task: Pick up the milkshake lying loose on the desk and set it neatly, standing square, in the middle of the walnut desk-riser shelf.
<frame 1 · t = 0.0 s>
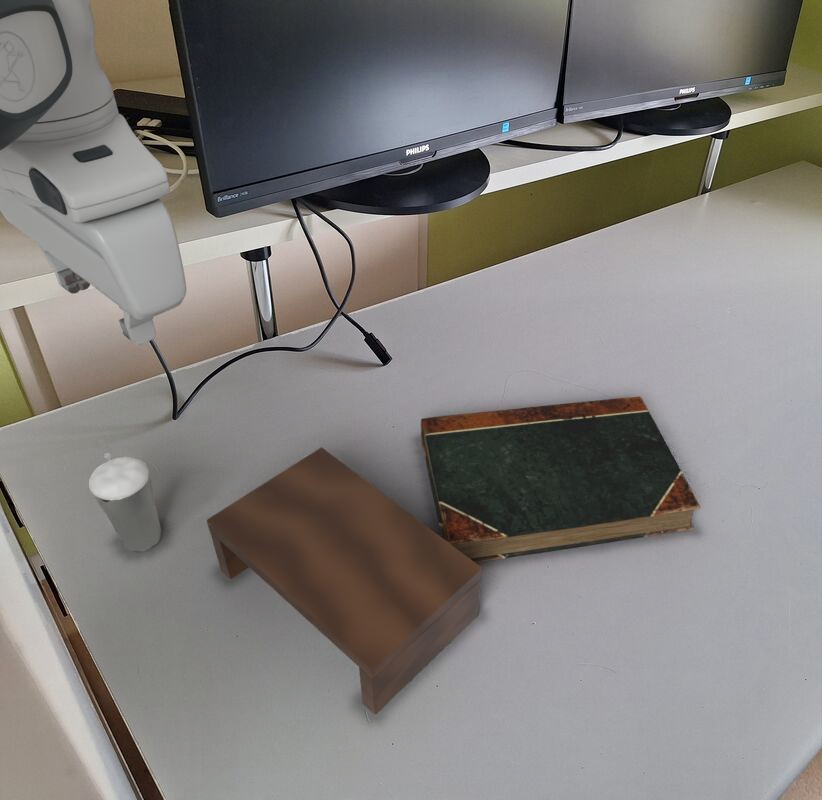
hand: (107, 312, 60), 21 cm above the table, tool pointing down, fingers open, 8 cm apart
riser shelf: (348, 593, 67), on the table
book: (551, 484, 80), on the table
milkshake: (141, 536, 70), on the table
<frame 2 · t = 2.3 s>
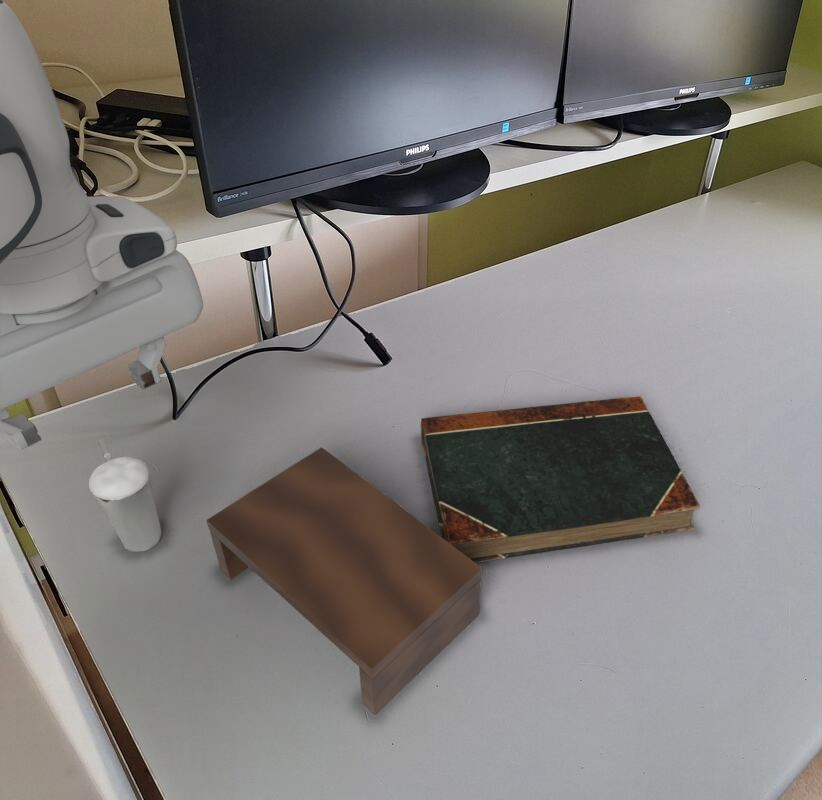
hand: (90, 410, 59), 16 cm above the table, tool pointing down, fingers open, 8 cm apart
nothing on the table moved.
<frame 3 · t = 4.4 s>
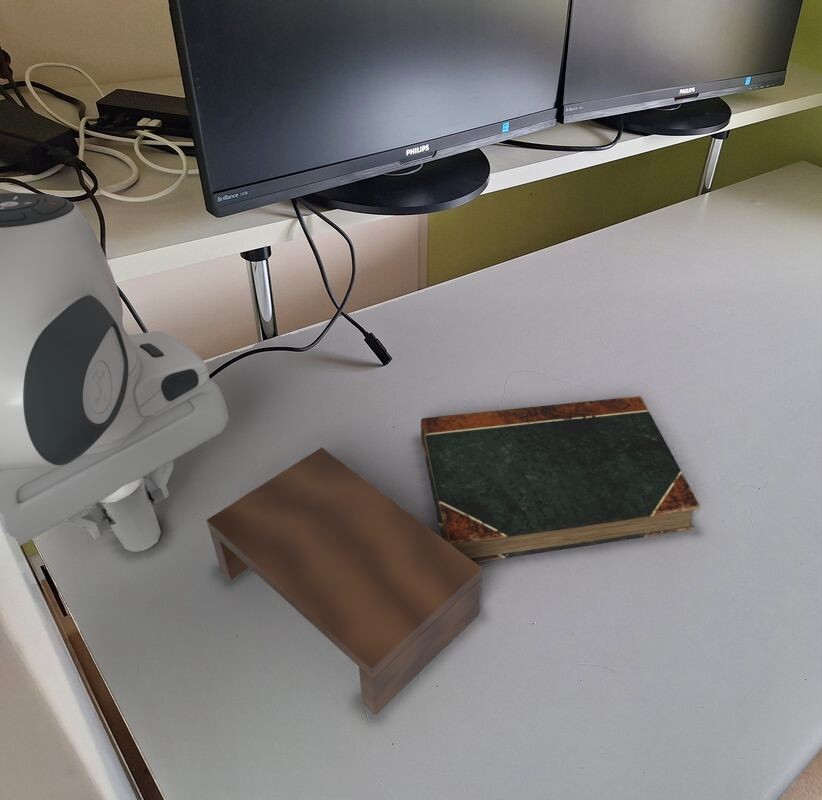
hand: (129, 513, 67), 4 cm above the table, tool pointing down, fingers closed on milkshake, 4 cm apart
milkshake: (141, 536, 70), on the table, touching gripper
everything else where it was.
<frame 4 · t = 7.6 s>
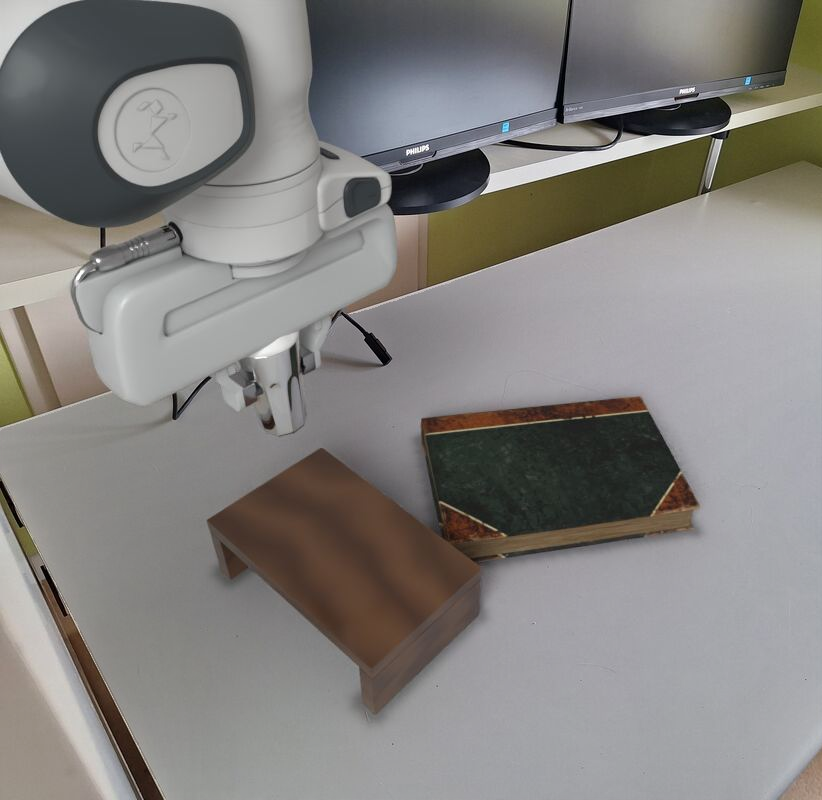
hand: (274, 384, 52), 23 cm above the table, tool pointing down, fingers closed on milkshake, 4 cm apart
milkshake: (281, 419, 55), point 19 cm above the table, touching gripper
everything else where it was.
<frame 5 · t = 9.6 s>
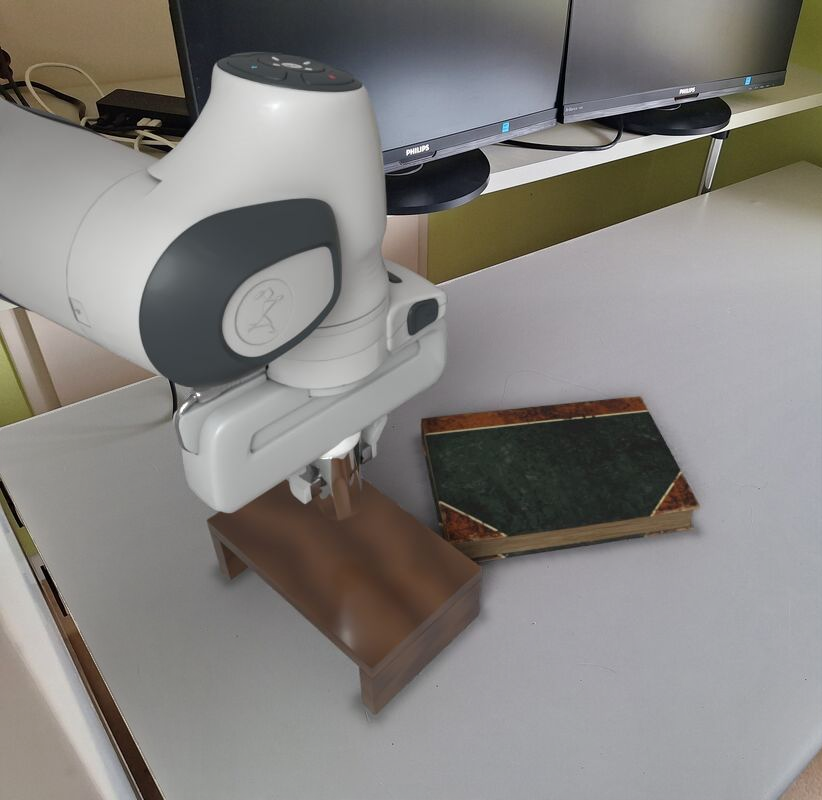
hand: (335, 474, 57), 15 cm above the table, tool pointing down, fingers closed on milkshake, 4 cm apart
milkshake: (339, 502, 60), point 11 cm above the table, touching gripper
everything else where it was.
when the fingers open (11 cm above the table, at t = 11.2 s): milkshake stays where it is, resting on riser shelf.
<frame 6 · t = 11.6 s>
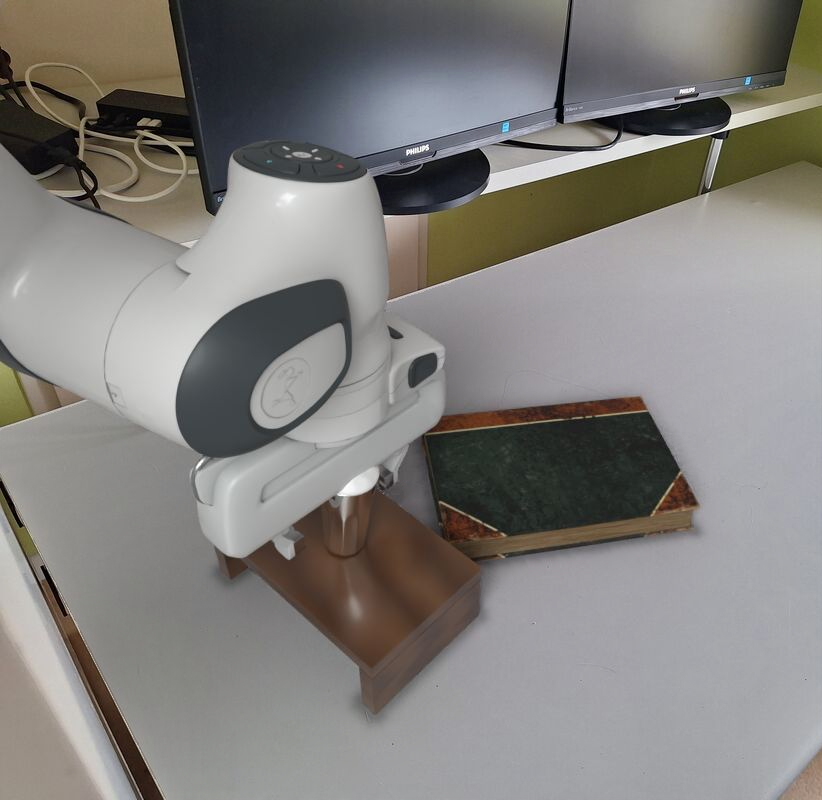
hand: (340, 514, 60), 11 cm above the table, tool pointing down, fingers open, 8 cm apart
milkshake: (342, 539, 63), point 7 cm above the table, touching riser shelf
everything else where it was.
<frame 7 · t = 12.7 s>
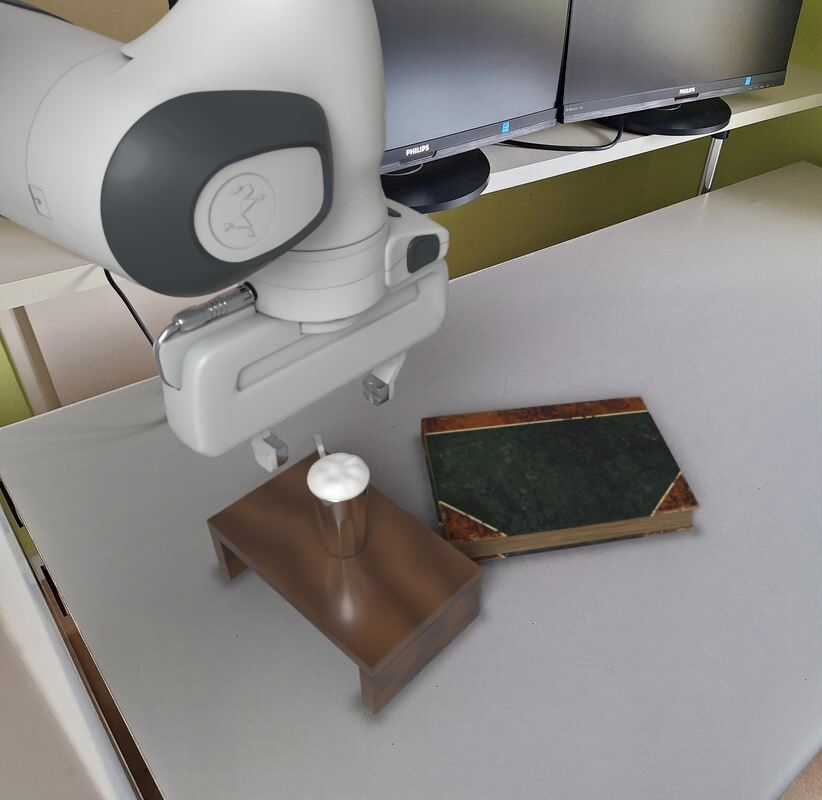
hand: (328, 428, 54), 20 cm above the table, tool pointing down, fingers open, 8 cm apart
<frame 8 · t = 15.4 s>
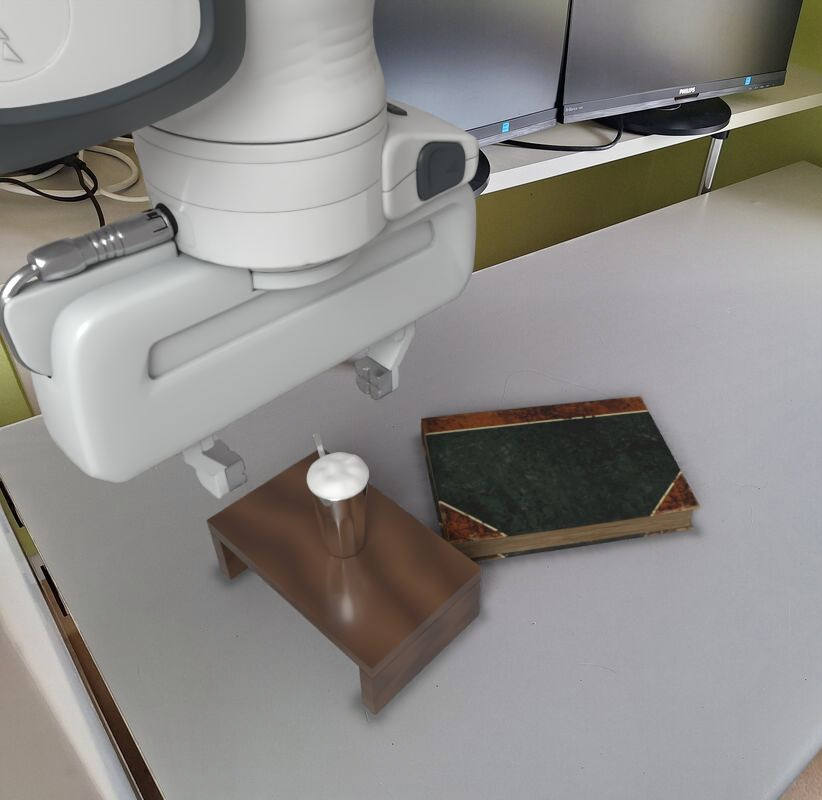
hand: (307, 433, 38), 31 cm above the table, tool pointing down, fingers open, 8 cm apart
nothing on the table moved.
at the end: milkshake inside the target area on the riser shelf (0.5 cm from its centre), point 6.8 cm above the riser shelf's base; milkshake tilted 0° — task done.
